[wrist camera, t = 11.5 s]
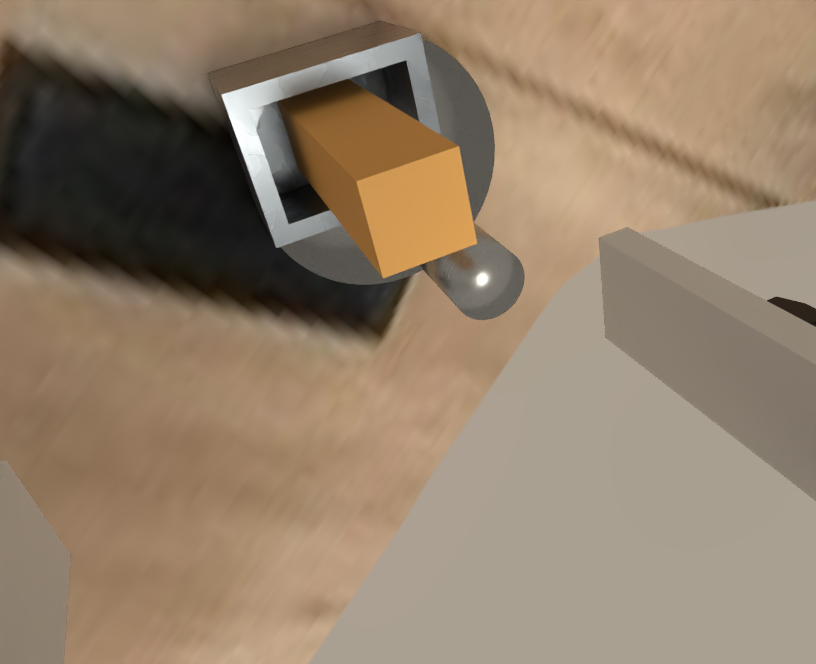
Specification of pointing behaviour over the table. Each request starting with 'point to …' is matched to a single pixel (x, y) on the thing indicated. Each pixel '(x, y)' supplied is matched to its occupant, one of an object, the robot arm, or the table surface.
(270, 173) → the bracket
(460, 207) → the orange rectangular block
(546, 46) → the table surface
